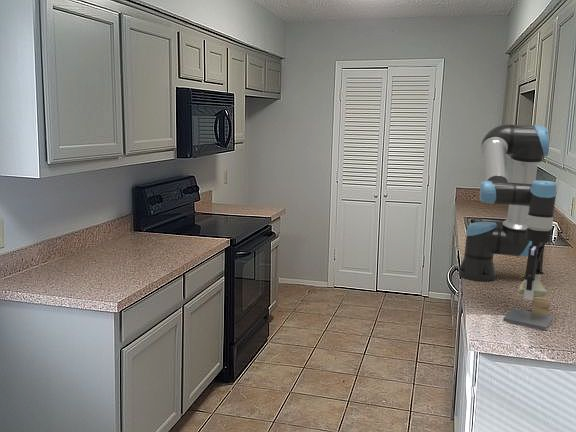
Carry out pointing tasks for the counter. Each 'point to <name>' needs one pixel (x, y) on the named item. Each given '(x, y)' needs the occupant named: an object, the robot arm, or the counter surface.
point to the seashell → (538, 288)
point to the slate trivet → (528, 319)
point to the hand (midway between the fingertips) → (531, 296)
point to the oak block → (540, 305)
